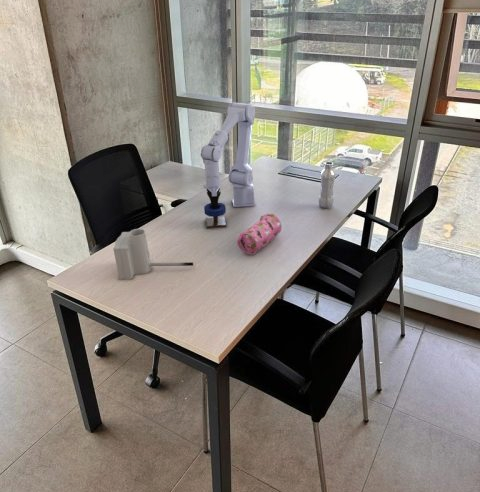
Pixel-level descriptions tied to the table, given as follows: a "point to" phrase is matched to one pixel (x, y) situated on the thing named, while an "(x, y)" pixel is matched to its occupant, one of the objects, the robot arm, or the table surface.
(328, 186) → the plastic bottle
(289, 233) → the table surface
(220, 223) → the stand
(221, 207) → the ring
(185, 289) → the table surface
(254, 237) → the pencil case
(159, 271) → the table surface
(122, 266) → the electronic device
